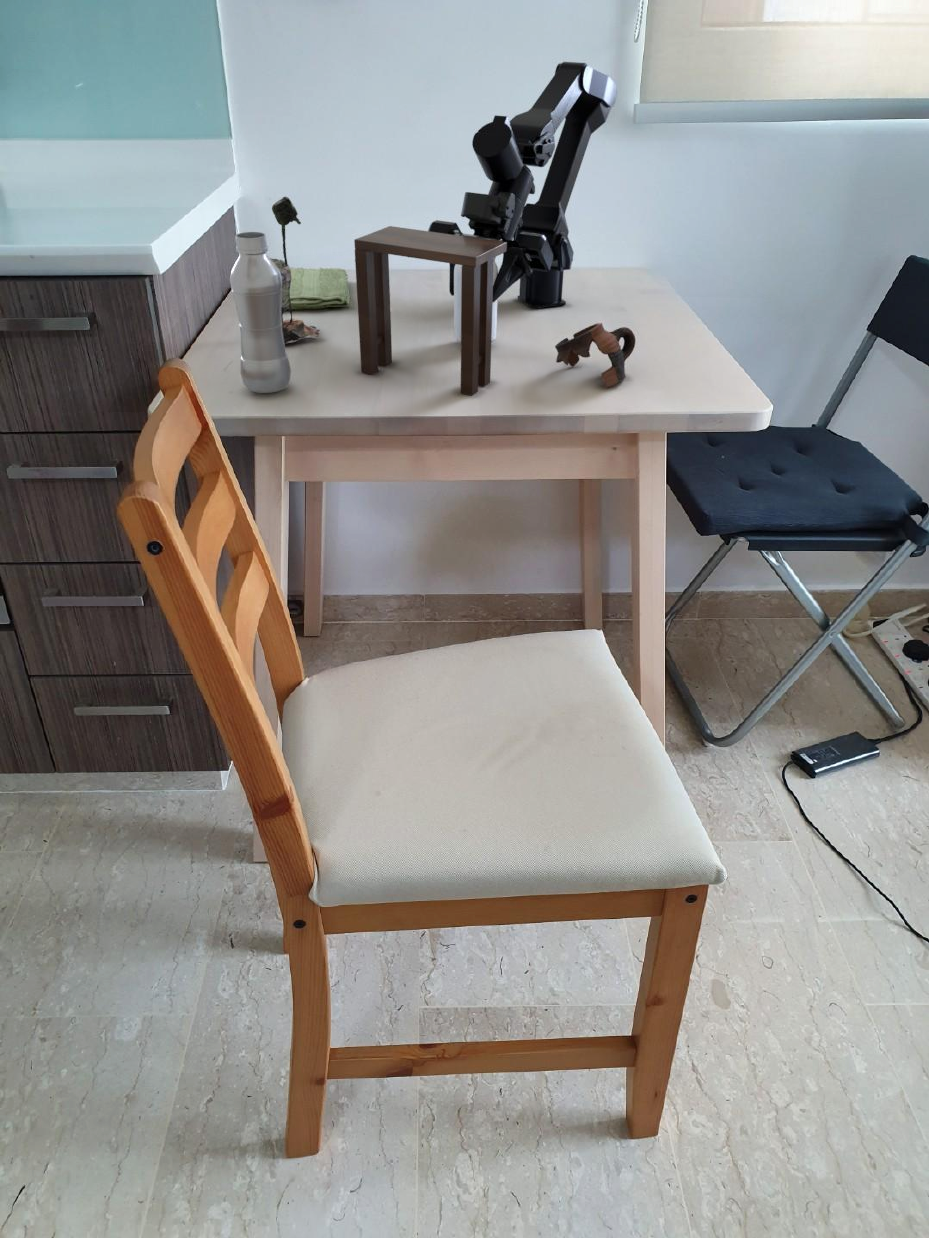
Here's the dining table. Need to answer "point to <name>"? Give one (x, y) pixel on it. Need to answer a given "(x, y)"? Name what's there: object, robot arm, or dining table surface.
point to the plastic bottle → (259, 315)
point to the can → (458, 302)
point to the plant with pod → (289, 277)
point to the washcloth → (319, 288)
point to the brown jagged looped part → (605, 344)
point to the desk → (474, 295)
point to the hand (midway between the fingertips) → (471, 297)
